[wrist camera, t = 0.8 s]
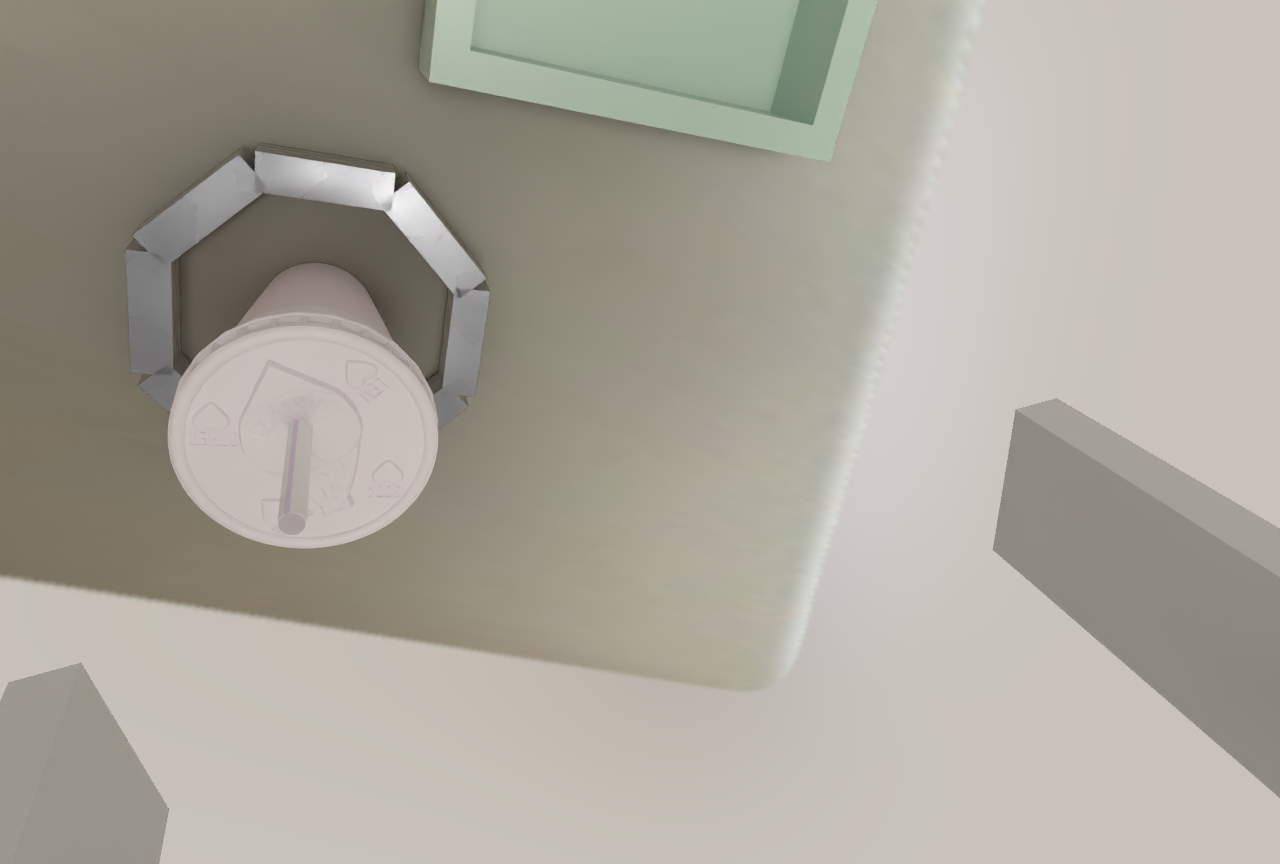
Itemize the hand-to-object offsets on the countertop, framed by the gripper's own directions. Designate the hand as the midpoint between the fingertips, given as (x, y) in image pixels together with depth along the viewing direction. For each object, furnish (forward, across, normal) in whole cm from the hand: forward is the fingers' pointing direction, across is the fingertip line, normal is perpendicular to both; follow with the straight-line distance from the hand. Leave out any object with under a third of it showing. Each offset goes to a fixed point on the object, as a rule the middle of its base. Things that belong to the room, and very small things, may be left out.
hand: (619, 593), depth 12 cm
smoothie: (+21, -5, -2) cm, 21 cm away
